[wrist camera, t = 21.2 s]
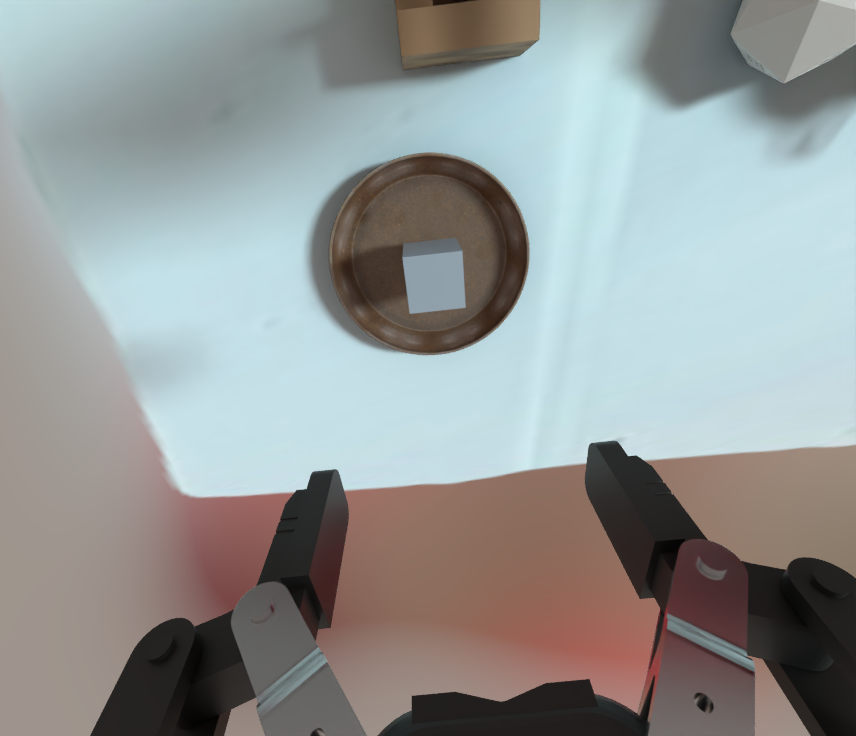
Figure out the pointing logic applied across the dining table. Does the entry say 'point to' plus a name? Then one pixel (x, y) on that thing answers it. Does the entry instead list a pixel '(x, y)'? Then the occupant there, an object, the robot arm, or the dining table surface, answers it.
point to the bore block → (464, 30)
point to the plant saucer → (423, 221)
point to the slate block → (434, 275)
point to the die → (793, 34)
